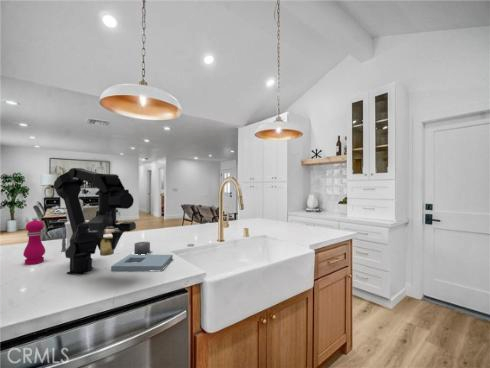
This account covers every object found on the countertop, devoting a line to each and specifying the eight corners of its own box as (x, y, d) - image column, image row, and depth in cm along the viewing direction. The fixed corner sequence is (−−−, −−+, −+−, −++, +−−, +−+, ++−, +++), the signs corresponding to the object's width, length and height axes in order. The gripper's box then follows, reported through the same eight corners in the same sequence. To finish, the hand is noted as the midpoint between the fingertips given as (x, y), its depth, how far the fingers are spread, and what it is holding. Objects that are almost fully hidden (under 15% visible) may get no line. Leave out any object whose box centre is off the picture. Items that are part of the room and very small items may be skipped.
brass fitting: (97, 255, 86) (97, 239, 86) (104, 252, 91) (104, 236, 91) (109, 255, 86) (110, 239, 86) (116, 252, 91) (116, 236, 91)
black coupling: (131, 255, 118) (132, 245, 118) (138, 251, 125) (138, 241, 125) (146, 255, 118) (146, 245, 118) (151, 251, 125) (152, 241, 125)
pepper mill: (20, 263, 104) (20, 217, 104) (40, 259, 110) (41, 215, 110) (27, 266, 100) (28, 218, 101) (48, 261, 107) (49, 216, 107)
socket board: (111, 271, 95) (111, 266, 95) (129, 258, 111) (129, 254, 111) (161, 271, 96) (161, 266, 96) (172, 258, 112) (172, 254, 112)
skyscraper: (67, 248, 130) (68, 196, 130) (84, 247, 133) (85, 196, 133) (60, 252, 122) (61, 197, 122) (79, 251, 125) (80, 197, 125)
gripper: (66, 209, 80) (65, 256, 80) (122, 209, 81) (122, 256, 81) (87, 206, 92) (86, 247, 91) (136, 207, 92) (136, 247, 92)
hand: (107, 249), depth 89 cm, fingers closed on brass fitting, 4 cm apart
